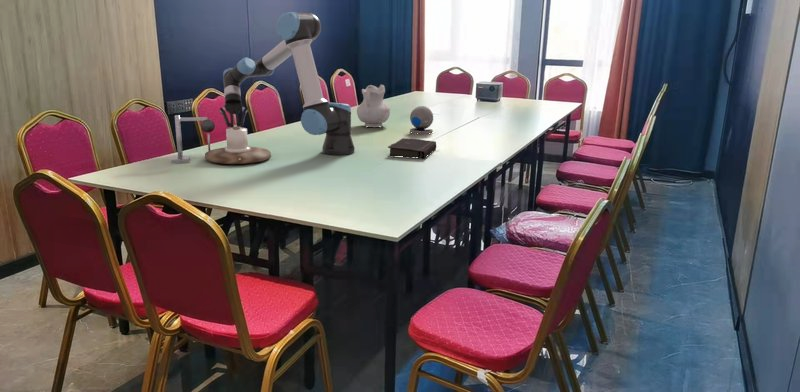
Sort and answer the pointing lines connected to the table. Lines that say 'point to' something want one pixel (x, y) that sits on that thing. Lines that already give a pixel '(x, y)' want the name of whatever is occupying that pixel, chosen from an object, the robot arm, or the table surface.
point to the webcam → (421, 120)
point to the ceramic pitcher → (373, 107)
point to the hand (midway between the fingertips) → (236, 138)
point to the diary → (412, 148)
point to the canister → (237, 140)
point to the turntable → (238, 156)
